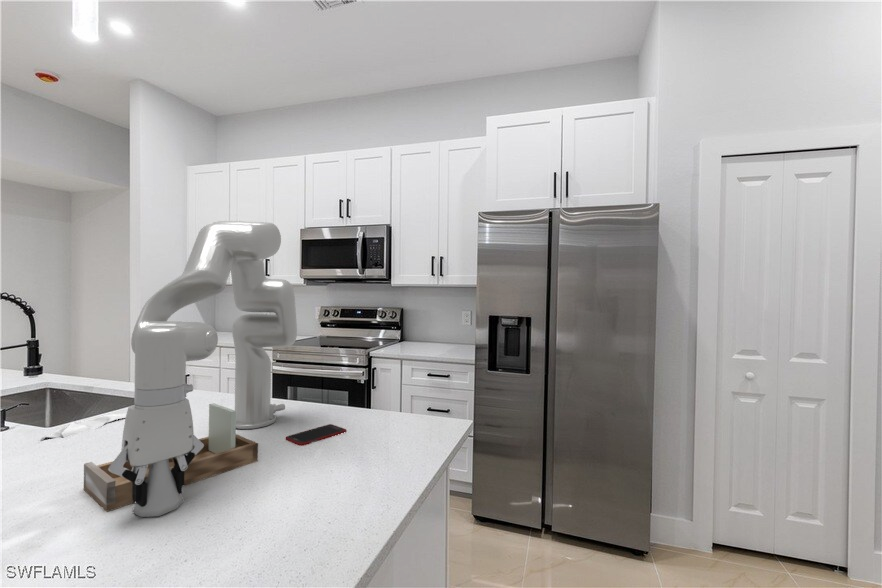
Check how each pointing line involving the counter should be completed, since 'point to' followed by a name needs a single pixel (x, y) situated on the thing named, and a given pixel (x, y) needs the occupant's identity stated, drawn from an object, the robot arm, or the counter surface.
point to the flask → (159, 491)
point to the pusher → (221, 428)
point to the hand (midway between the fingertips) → (159, 496)
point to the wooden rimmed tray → (205, 464)
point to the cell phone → (315, 434)
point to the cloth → (84, 426)
